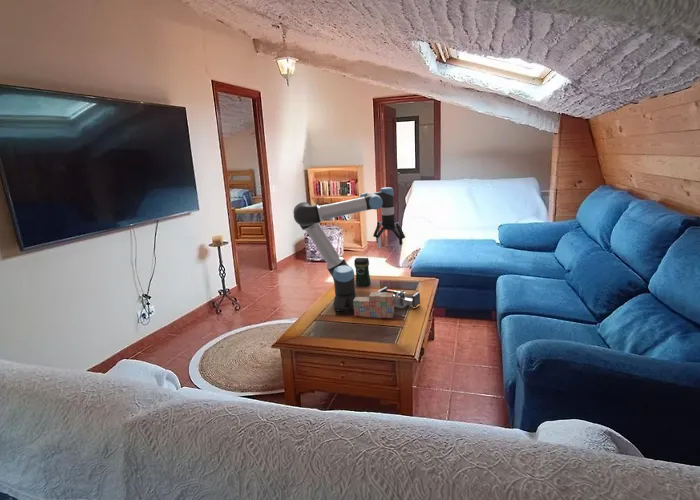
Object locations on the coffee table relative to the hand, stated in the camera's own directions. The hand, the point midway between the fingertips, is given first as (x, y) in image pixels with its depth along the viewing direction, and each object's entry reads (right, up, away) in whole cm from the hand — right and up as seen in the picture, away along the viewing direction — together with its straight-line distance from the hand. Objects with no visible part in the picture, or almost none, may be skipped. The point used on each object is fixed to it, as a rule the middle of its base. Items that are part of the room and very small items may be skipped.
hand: (389, 249), depth 245 cm
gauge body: (+2, -31, -10) cm, 33 cm away
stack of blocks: (-11, -36, -23) cm, 44 cm away
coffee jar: (-15, -24, +26) cm, 38 cm away
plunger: (+8, -32, -14) cm, 35 cm away
